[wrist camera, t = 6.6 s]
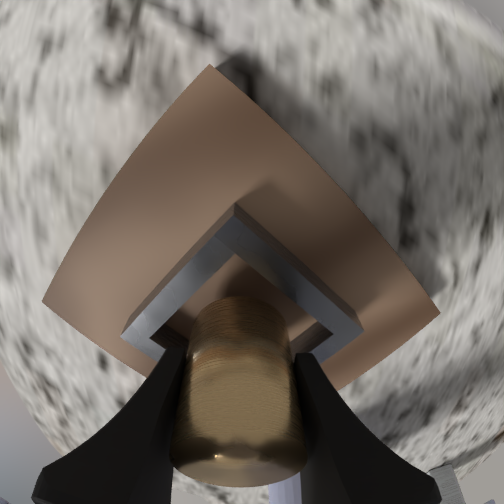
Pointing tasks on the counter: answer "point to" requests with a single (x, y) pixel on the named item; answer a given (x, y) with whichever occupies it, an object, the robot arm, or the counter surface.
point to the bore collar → (263, 261)
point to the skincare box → (447, 485)
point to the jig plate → (209, 211)
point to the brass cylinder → (239, 398)
